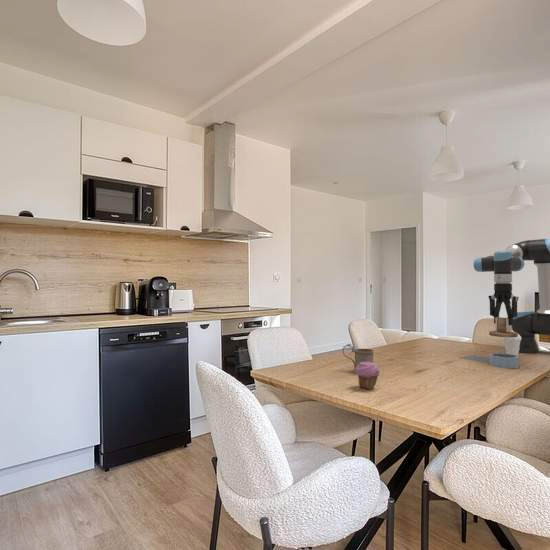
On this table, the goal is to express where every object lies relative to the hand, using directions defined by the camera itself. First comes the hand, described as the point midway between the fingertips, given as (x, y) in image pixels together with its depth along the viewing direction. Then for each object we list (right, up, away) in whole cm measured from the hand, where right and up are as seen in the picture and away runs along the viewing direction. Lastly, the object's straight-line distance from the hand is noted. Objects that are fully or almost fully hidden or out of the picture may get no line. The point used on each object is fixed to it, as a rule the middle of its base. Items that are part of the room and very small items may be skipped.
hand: (503, 331), depth 188 cm
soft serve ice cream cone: (+14, -17, +16) cm, 27 cm away
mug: (-73, -17, -13) cm, 75 cm away
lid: (0, -2, 0) cm, 2 cm away
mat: (-4, -17, +16) cm, 23 cm away
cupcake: (-75, -16, -40) cm, 87 cm away
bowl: (0, -17, 0) cm, 17 cm away
